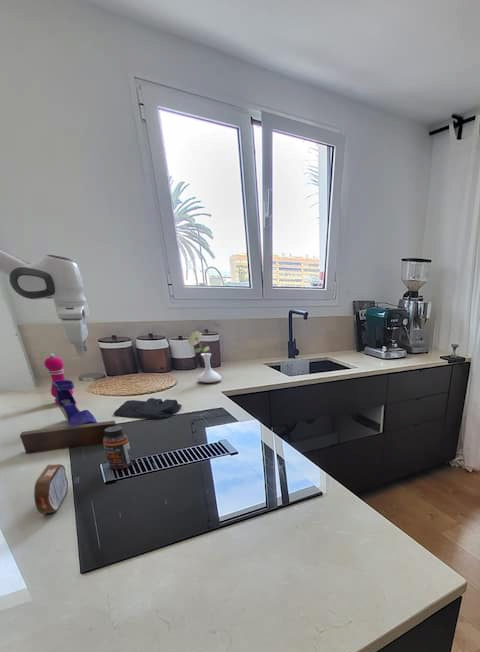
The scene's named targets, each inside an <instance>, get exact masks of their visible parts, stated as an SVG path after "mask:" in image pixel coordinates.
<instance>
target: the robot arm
mask: <svg viewBox="0 0 480 652" xmlns="http://www.w3.org/2000/svg"><path fill="white" fill-rule="evenodd" d="M0 273H3V274H4V275H6V276H8V277H9V284H10V287H11V288H12V290H13V291H15V293H16V294H18V295H19V296H21V297H23V298H25V299H29V300H36V301H37V300H45V299H47V300H48V299H49V300H51V299H52V300H53V303H54V308H55V312H56V317H57V318H58V319H59V320H61V324H62V328H63V330H64V333H65V336H66V339H67V341H68V343H69V344H70V345H73V346H74V347H75V351H76V354H77V356H78V357H84V356H85V355H86V354H85V352H87V351H88V346H87V338H88V336H89V331H88V326H87V323H86V322H87V321H88V320H87V318H88V317H90V316H91V313H90V309H89V304H88V300H87V298H86V296H85V293H84V289H85V287H84V282H83V278H82V274H81V272H80V269H79V266H78V265H77V263H76V262H75V261H74V260H72V259H71V258H68V257H65V256H60V255H54V254H46V255H45V256H44V257H42V258H40V259H39V260H37V261H34V262H32V263H30V262H27V261H24V260H22V259H20V258H18V257H16V256H14V255H12V254H10V253H8V252H6V251H5V250H2V249H0Z"/></svg>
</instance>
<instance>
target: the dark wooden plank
mask: <svg viewBox="0 0 480 652" xmlns="http://www.w3.org/2000/svg"><path fill="white" fill-rule="evenodd" d="M114 426H117V423H116V421H115V420H109V421H108V420H107V421H99V422H98V423H91V424H82V425H74V426H69V425H66V426H59V427H49V428H42V429H34V430H25V431H21V433H20V434H19V436H20V441H21V442H22V445H23V448H24V451H25V454H26V455H27V454H35V453H43V452H47V451H54V450H62V449H70V448H76V447H75V446H77V447H83V446H82V445H84V446H90V445H89V444H91V445H97V444H104V443H103V438H104V437H105V436H106V434H105V429H106V428H109V427H114ZM69 447H70V448H69Z"/></svg>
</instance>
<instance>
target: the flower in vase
mask: <svg viewBox="0 0 480 652" xmlns="http://www.w3.org/2000/svg"><path fill="white" fill-rule="evenodd" d="M202 339H203V333H202V332H200V331H199V330H196V331H193V332H192V333H191V335H189V338H188V340H187V342H188V344H189V345H191V346H196V345H199V347H197V348H195V349H194V350H193V353H200V352H201V351H202V352H203V353H200V356H201V357H202V359H203V361H204V366H205V368H204V370H203V371H202V372H201V373H200V374H199V375H198V376H197V381H198V382H200V383H205V384H206V383H207V384H211V383H217V382H219V381H221V380H222V376H221V375H220V374H219V373H217V372H216V371H215V370H213V369H212V367H211V356H212V353H210V352H208V351H210V345H208V346H206V347H204V348H202V345H201V344H200V342H201V341H202Z"/></svg>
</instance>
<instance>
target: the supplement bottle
mask: <svg viewBox="0 0 480 652" xmlns="http://www.w3.org/2000/svg"><path fill="white" fill-rule="evenodd" d="M105 434H106V436H105V437H104V438H103V443H102V444H103V447H104V452H105V455H106V459H107V463H108V466H109V468H110V469H112V470H116V469H117V470H124V469H127V468H129V467H131V466H132V465H133V464H134V460H133V456H132V452H131V447H130V443H129V438H128V435H127V433H124V432H123V429H122V427H121V426H119V425H118V426H117V425H116V426H114V427H109V428H106V429H105Z"/></svg>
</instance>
